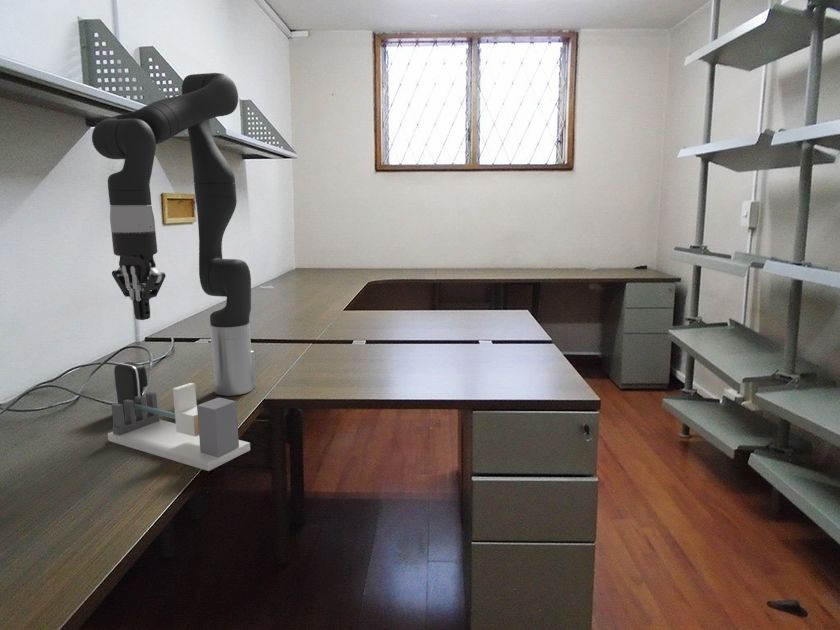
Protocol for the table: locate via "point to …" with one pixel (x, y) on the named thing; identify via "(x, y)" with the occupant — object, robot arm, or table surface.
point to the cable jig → (163, 440)
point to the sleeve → (186, 409)
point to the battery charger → (129, 381)
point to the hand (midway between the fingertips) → (142, 319)
